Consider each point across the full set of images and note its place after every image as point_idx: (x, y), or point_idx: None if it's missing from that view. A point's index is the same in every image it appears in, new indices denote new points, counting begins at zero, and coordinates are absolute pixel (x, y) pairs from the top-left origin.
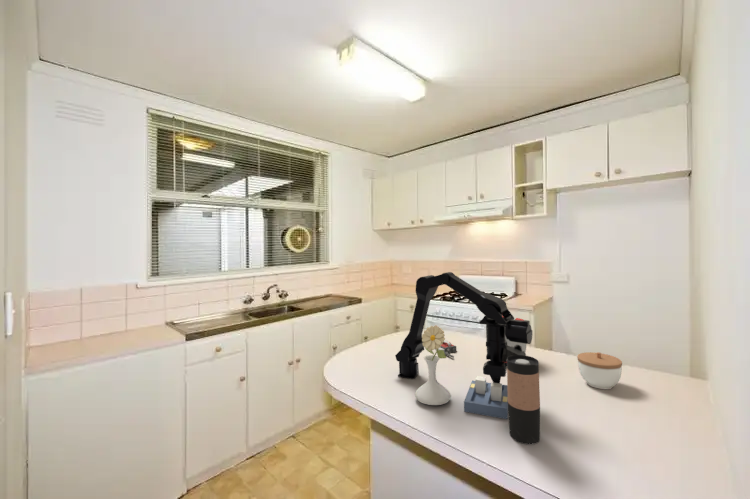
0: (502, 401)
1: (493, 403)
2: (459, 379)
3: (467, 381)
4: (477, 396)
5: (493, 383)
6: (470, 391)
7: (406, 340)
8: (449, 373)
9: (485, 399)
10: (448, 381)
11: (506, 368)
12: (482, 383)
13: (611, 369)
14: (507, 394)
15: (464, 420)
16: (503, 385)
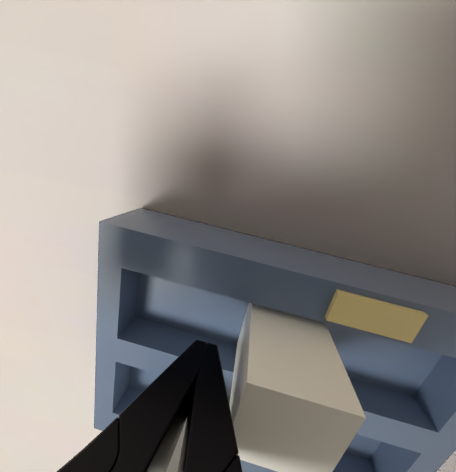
0: (407, 339)
1: (339, 354)
2: (45, 405)
3: (52, 380)
4: None
5: (255, 449)
6: (249, 468)
7: None
8: (3, 426)
9: (365, 428)
10: (81, 444)
11: None
12: None
13: None
14: (275, 276)
15: (449, 465)
16: (112, 270)
